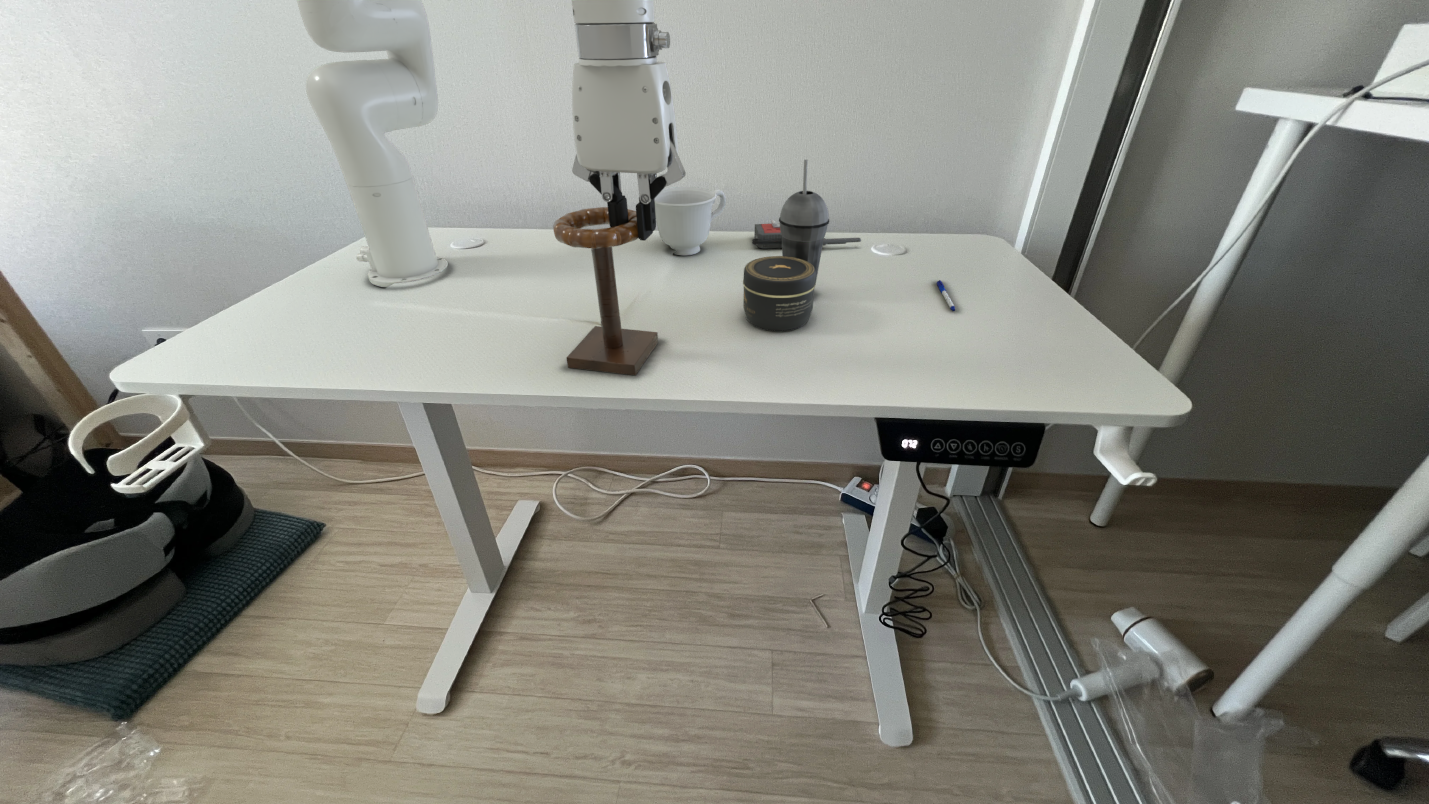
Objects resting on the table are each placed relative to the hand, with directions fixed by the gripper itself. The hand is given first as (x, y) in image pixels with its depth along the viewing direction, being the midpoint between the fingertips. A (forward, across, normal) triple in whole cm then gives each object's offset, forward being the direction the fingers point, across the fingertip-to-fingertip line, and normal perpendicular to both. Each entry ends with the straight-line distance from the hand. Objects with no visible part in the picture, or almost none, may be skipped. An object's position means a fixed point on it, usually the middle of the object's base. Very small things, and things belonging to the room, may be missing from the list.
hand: (633, 234), depth 66 cm
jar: (+16, -15, -15) cm, 27 cm away
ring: (-1, +4, 0) cm, 4 cm away
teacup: (+16, +5, -41) cm, 44 cm away
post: (+16, +4, 0) cm, 17 cm away
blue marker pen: (+16, -39, -28) cm, 51 cm away
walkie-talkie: (+16, -15, -48) cm, 53 cm away
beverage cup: (+16, -17, -24) cm, 34 cm away
